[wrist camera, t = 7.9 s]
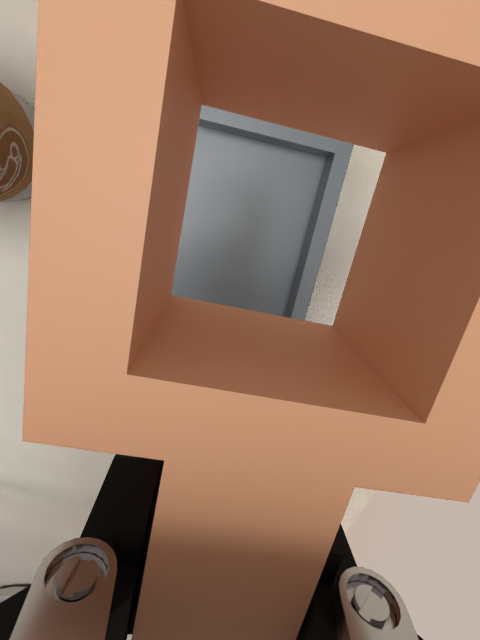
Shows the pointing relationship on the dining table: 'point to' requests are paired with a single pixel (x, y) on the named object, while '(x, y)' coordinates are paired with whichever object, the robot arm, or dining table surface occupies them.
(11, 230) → the dining table surface
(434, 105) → the orange flat handled frame
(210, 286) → the tray
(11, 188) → the coffee cup
